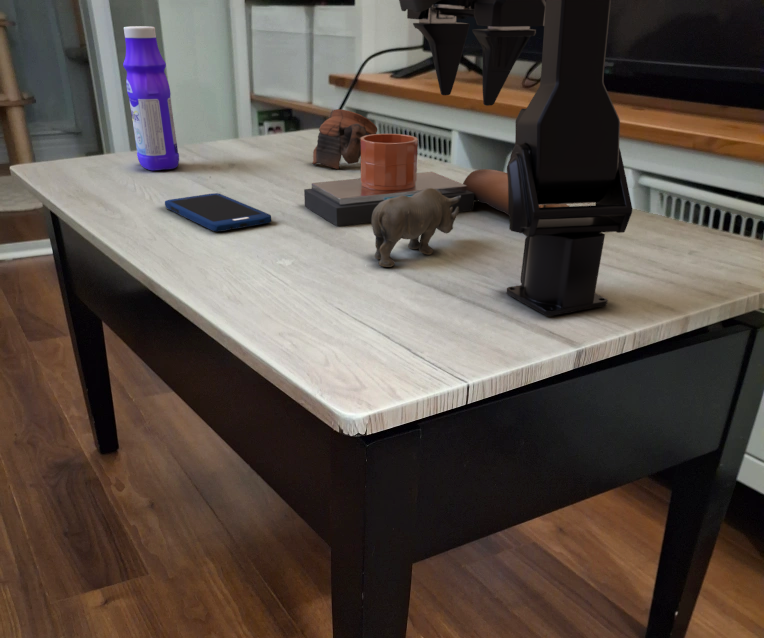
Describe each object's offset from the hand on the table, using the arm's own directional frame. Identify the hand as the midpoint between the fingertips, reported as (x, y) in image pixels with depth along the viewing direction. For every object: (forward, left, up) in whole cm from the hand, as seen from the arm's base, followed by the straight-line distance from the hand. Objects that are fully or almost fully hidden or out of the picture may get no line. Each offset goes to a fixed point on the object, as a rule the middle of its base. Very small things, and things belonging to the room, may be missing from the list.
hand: (466, 100), depth 85 cm
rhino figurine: (-12, +12, -12) cm, 21 cm away
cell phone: (+10, +27, -12) cm, 31 cm away
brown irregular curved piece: (+31, +1, -12) cm, 33 cm away
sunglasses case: (-5, -6, -12) cm, 15 cm away
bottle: (+40, +27, -12) cm, 50 cm away
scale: (+5, +7, -12) cm, 15 cm away
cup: (+5, +7, -9) cm, 13 cm away
